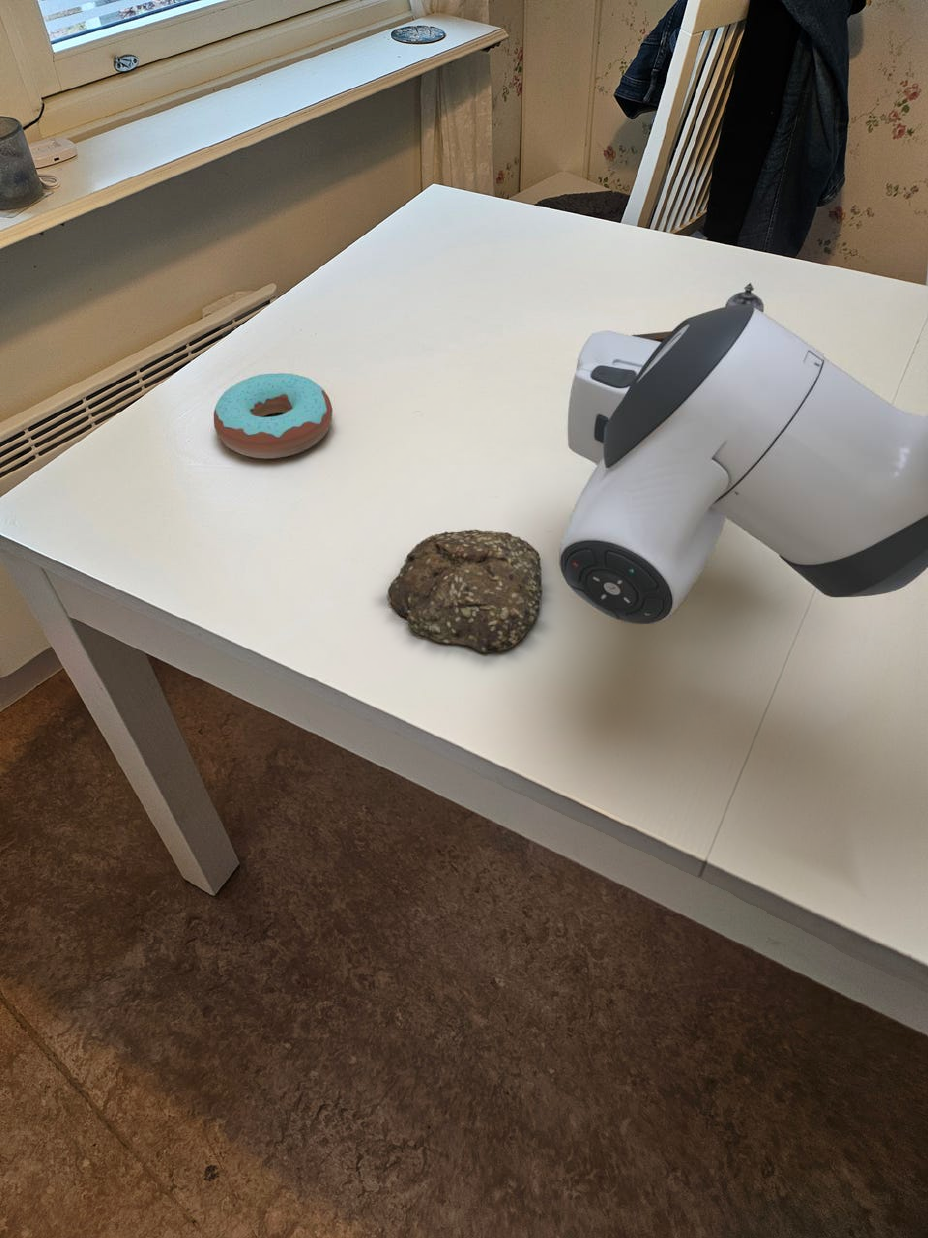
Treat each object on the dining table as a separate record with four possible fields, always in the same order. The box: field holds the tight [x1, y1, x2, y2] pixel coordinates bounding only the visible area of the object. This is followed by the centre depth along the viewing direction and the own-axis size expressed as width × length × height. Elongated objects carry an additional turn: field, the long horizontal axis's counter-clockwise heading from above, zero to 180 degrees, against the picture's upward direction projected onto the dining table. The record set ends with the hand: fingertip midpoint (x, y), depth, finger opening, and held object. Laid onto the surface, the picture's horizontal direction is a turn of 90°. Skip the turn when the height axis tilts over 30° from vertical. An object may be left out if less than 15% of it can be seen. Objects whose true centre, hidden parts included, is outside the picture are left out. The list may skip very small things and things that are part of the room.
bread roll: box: [387, 529, 543, 654], centre depth 71 cm, size 13×12×5 cm
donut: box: [213, 372, 333, 460], centre depth 88 cm, size 12×12×4 cm
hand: (736, 346), depth 68 cm, fingers closed on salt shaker, 3 cm apart
